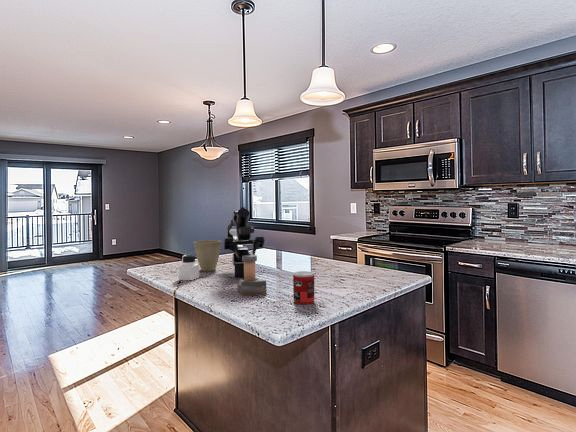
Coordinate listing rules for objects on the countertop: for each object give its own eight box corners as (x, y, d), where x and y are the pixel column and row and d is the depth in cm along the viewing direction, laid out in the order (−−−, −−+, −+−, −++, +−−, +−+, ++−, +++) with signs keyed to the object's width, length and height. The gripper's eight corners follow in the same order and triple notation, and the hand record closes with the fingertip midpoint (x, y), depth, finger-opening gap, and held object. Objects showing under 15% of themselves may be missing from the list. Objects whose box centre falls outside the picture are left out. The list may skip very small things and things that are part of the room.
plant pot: (227, 268, 203) (226, 240, 202) (211, 273, 189) (210, 243, 189) (205, 266, 209) (204, 239, 208) (188, 271, 196) (187, 242, 195)
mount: (237, 287, 159) (237, 275, 159) (259, 285, 162) (259, 273, 162) (242, 296, 145) (242, 282, 145) (266, 293, 148) (266, 280, 148)
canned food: (292, 299, 140) (292, 271, 139) (312, 298, 141) (312, 270, 140) (294, 305, 132) (294, 275, 132) (316, 304, 133) (315, 275, 132)
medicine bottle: (199, 277, 180) (198, 254, 179) (191, 281, 173) (190, 256, 172) (187, 277, 182) (186, 253, 181) (178, 280, 175) (178, 255, 175)
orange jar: (241, 283, 159) (241, 255, 158) (255, 282, 161) (255, 254, 160) (243, 287, 153) (243, 257, 152) (258, 286, 154) (258, 256, 154)
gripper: (223, 220, 166) (227, 247, 156) (263, 219, 171) (268, 245, 161) (222, 236, 174) (225, 262, 164) (260, 234, 179) (265, 259, 169)
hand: (246, 257), depth 164 cm, fingers open, 7 cm apart
